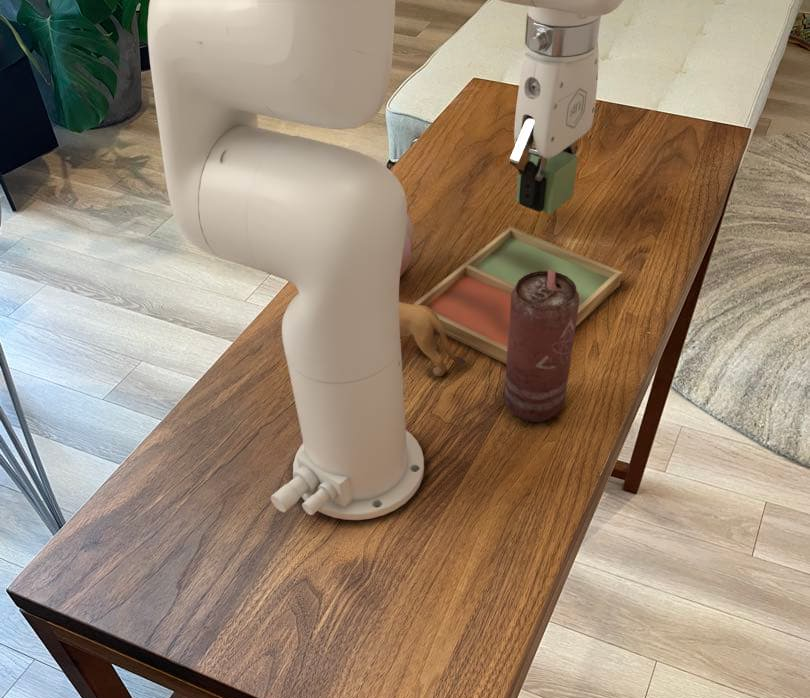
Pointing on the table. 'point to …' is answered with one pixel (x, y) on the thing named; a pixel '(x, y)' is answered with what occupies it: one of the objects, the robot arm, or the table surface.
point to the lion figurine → (425, 333)
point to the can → (540, 344)
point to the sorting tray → (509, 288)
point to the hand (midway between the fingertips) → (544, 195)
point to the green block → (556, 180)
